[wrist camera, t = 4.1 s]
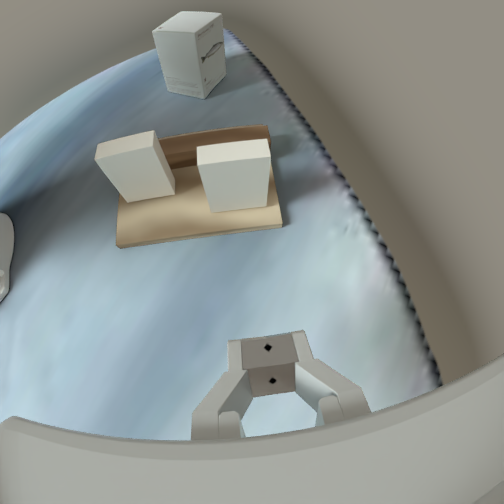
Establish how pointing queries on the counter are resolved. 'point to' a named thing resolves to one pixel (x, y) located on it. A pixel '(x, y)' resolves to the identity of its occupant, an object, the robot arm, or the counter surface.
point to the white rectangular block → (235, 174)
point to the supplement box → (191, 52)
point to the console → (193, 197)
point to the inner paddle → (136, 166)
